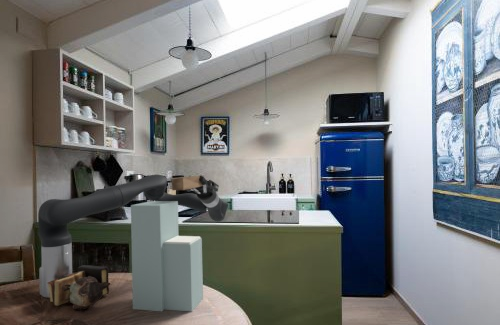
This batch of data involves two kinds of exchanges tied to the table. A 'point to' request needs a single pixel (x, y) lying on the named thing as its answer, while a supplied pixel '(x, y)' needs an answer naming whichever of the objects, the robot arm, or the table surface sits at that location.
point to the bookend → (80, 287)
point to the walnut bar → (186, 183)
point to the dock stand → (164, 260)
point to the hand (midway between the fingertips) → (194, 177)
